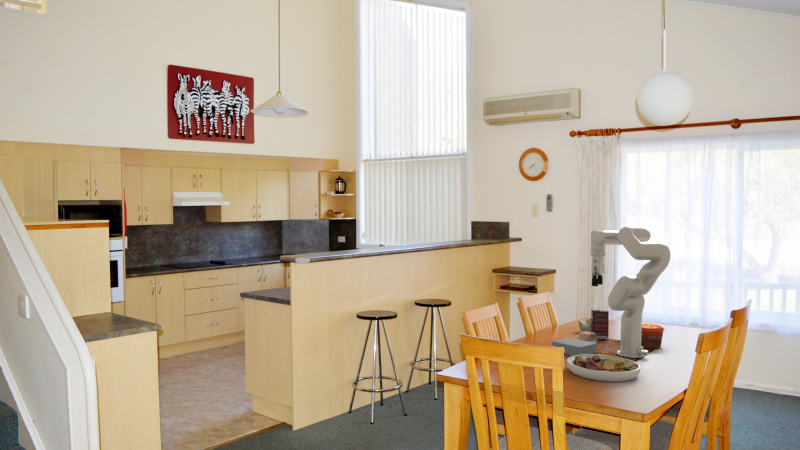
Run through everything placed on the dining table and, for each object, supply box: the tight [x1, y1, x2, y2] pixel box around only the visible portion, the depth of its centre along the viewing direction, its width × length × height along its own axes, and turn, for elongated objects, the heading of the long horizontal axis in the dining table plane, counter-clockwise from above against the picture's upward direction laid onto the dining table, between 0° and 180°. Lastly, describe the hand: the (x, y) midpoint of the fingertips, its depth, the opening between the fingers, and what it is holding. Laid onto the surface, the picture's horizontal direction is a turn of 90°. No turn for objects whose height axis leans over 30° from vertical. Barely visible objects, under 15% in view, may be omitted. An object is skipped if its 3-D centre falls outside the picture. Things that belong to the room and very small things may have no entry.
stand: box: [551, 337, 597, 357], centre depth 288 cm, size 16×14×5 cm
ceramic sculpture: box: [578, 318, 591, 332], centre depth 337 cm, size 11×9×15 cm
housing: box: [577, 331, 597, 344], centre depth 303 cm, size 6×6×7 cm
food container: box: [641, 323, 665, 350], centre depth 305 cm, size 16×16×11 cm
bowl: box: [566, 353, 641, 383], centre depth 251 cm, size 30×30×8 cm
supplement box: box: [590, 309, 610, 341], centre depth 321 cm, size 9×5×16 cm, turn 84°
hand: (597, 285), depth 311 cm, fingers open, 9 cm apart
